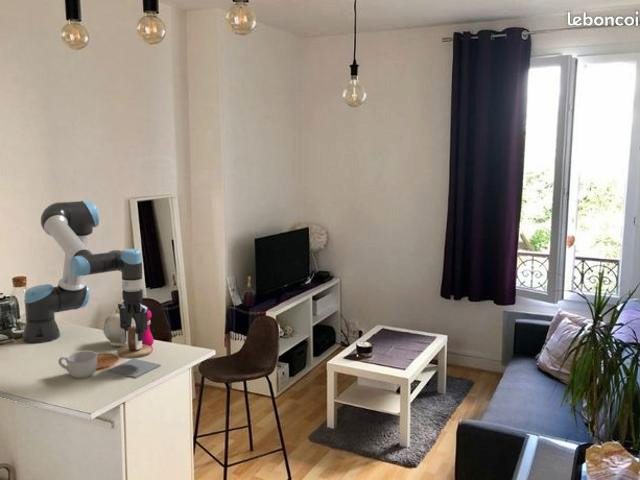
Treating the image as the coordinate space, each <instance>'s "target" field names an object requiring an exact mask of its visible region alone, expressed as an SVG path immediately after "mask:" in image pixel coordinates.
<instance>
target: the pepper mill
mask: <svg viewBox="0 0 640 480" xmlns="http://www.w3.org/2000/svg"><path fill="white" fill-rule="evenodd" d="M144 306H145V307H147V306H146V305H144ZM151 318H152V311H150V310H149V309H148V312H147V331H145V332H143V340H142V344H144V345H148V346H150V347H151V348H152V352H153V347H154V346H153V345H154V336H153V334H152V332H151V329H150V325H151Z"/></svg>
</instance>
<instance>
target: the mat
mask: <svg viewBox="0 0 640 480" xmlns="http://www.w3.org/2000/svg"><path fill="white" fill-rule="evenodd" d="M161 366H162V365H161V364H159V363H155V362H151V361H146V360H141V359H139V358H134V359H130V360H127V361H125V362H123V363H121V364H118V365H116V366H114V367H111V368H110V369H107V372H109V373H113V374H118V375H122V376H124V377H125V376H126V377H129V378H134V379H137V378H139V377H141V376H143V375H146V374H147V373H149V372H152V371H154V370H156V369H158V368H160V367H161Z"/></svg>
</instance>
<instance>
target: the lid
mask: <svg viewBox="0 0 640 480" xmlns="http://www.w3.org/2000/svg"><path fill="white" fill-rule="evenodd" d="M128 332H129V348H127V346H123V347H118V349H117V350H116V356H117V357H119V358H121V359H130V360H132V359H140V358H144V357H147V356H149V355H151V354H152V352H153V351H152V348H151V347H150V346H148V345H144V344H142V348H140V349H138V350H136V341H135V333H136V332H137V330H136V326H131V327H129V328H128Z"/></svg>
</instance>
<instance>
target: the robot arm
mask: <svg viewBox="0 0 640 480" xmlns="http://www.w3.org/2000/svg"><path fill="white" fill-rule="evenodd" d="M99 225H100V215H99V210H98V207H97V206H96V204H95V203H93V202H92V201H90V200H87V201H85V200H84V201H83V200H81V201H80V200H79V201H64V202H63V201H62V202H54V203H52V204H50V205H48V206H47V207H46V208H45V209H44V210H43V212H42V213H41V217H40V226H41V227H42V229H43V231H44V232H45V234H46V235H48V236H51V237H52V238H53V239H54V240H55V242H56V243H57V244H58V246H59V247H60V248H61V250H62V251H63V252H64V259H63V260H64V261H63V262H64V263H63V271H62V278H61V279H59V280H58V282H57V283H58V284H57V286H53V285H52V284H48V283H47V284H37V285H35V286H32V287H30V288H28V289H26V291H25V292H24V300H23V301H24V309H25V326H24V329H23V332H22V341H23V342H25V343H31V344H38V343H48V342H52V341H54V340H57V339H58V338H60V335H61V333H60V329H59V327H58V324H57V322H56V317H55V314H56V313H61V312H62V313H63V312H67V311H72V310H79V309H81V308H83V309H84V308H85V307H86V306H87V304H89V302H90V301H89V300H90V287H89V285H88V284H87V283H86V281H85V280H84V277H86V276H90V275H96V274H104V273H111V272H117V271H118V272H121V288H122V294H121V295H122V300H123V302H121V303H118V304H117V307H118V308H119V313H120V327H121V329H122V328H123V329H124V330H125V338H126V344H127V348H129V332H128V328H129V327H131V323H132V317H133V319H134V321H135V324H136V330H137V332H136V333H135V341H136V350H138V349H140V348H142V340H143V332H145V331H147V312H148V310H149V306H146V305H144V303H143V297H144V292H143V291H144V290H143V288H144V287H143V285H144V284H143V257H142V256H143V255H142V251H141V250H140V249H137V248H125V249H123V250H120V249H112V250H110V251H108V252H103V253H102V252H101V253H94V254H93V253H92V252H91V251H90V250H89V248H88V240H89V236H90V235H92V233H93V229H94V228H97V227H98V226H99ZM145 306H146V307H145ZM118 308H117V309H118ZM123 324H124V325H123Z"/></svg>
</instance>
